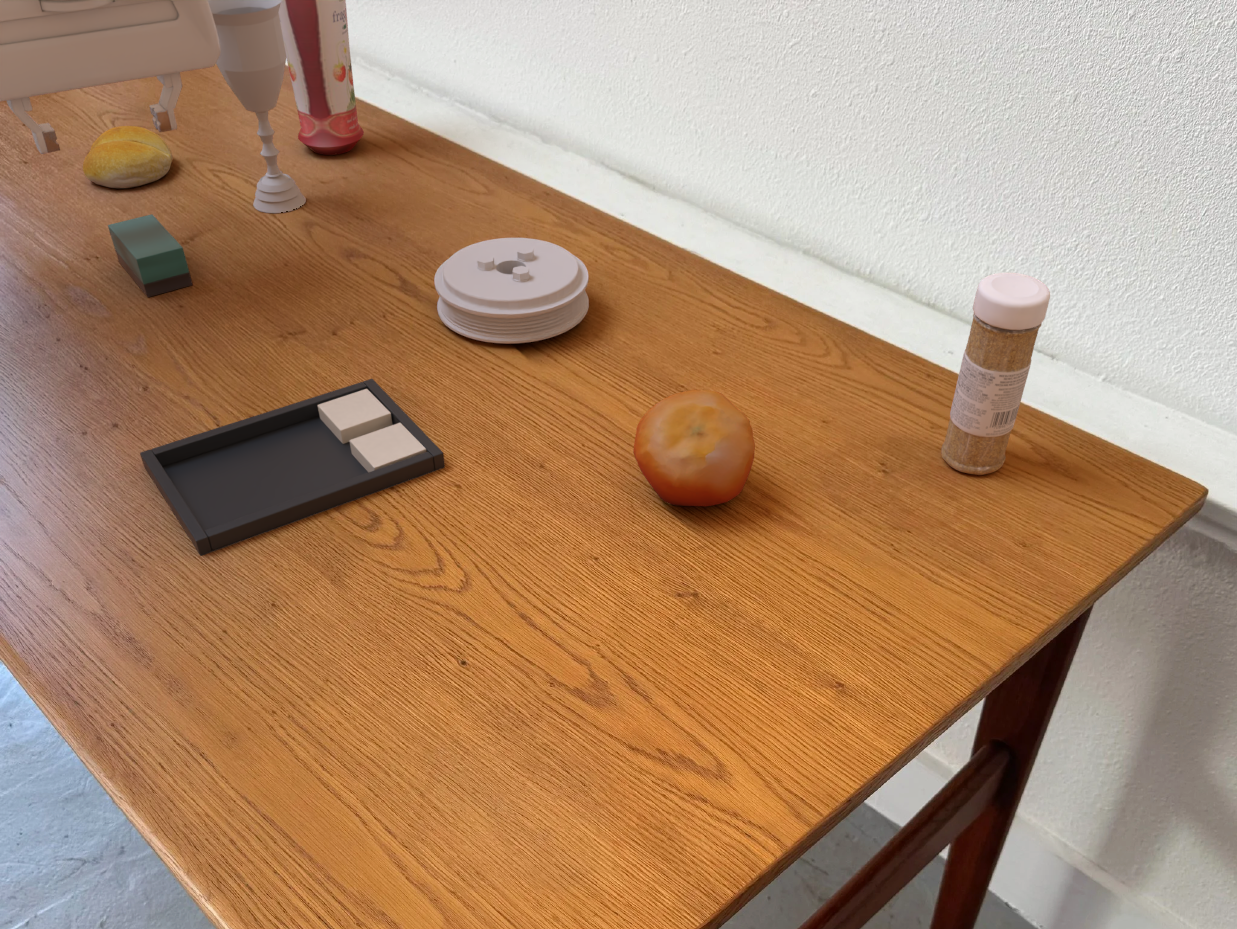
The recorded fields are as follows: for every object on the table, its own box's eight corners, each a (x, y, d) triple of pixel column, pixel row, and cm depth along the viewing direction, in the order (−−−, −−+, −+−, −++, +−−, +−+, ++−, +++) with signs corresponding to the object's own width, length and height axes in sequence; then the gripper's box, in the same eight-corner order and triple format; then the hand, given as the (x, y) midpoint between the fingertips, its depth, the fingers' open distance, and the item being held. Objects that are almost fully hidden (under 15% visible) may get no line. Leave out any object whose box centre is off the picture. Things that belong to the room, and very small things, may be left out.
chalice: (299, 181, 119) (263, -14, 107) (329, 204, 115) (295, 4, 103) (230, 199, 116) (185, 0, 104) (258, 223, 112) (215, 19, 100)
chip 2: (376, 481, 81) (374, 467, 80) (351, 454, 84) (348, 439, 83) (428, 462, 83) (426, 448, 82) (402, 436, 85) (400, 422, 85)
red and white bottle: (360, 161, 123) (314, -156, 104) (291, 160, 123) (231, -157, 104) (373, 134, 128) (331, -172, 109) (306, 133, 128) (252, -173, 109)
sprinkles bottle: (986, 437, 86) (1031, 266, 77) (1015, 473, 83) (1065, 299, 74) (928, 445, 86) (966, 273, 77) (955, 481, 82) (998, 306, 73)
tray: (202, 561, 76) (195, 540, 75) (145, 472, 83) (139, 452, 82) (445, 472, 83) (443, 452, 82) (375, 397, 90) (372, 378, 89)
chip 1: (342, 444, 85) (340, 430, 84) (319, 418, 87) (317, 404, 86) (393, 426, 86) (391, 412, 85) (369, 401, 89) (366, 388, 88)
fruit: (747, 426, 85) (758, 373, 77) (747, 529, 83) (758, 486, 75) (635, 423, 85) (635, 370, 77) (632, 526, 83) (631, 482, 75)
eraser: (193, 285, 103) (183, 247, 101) (147, 297, 101) (136, 259, 99) (162, 250, 108) (152, 213, 105) (118, 262, 106) (107, 224, 104)
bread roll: (80, 193, 117) (67, 152, 114) (101, 157, 123) (89, 118, 121) (165, 190, 117) (154, 150, 115) (182, 154, 124) (172, 115, 121)
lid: (531, 370, 93) (527, 312, 90) (407, 326, 98) (400, 270, 95) (617, 304, 101) (617, 249, 97) (499, 266, 106) (495, 213, 102)
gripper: (-86, -21, 81) (-18, 178, 90) (207, -56, 89) (241, 130, 99) (-103, -44, 84) (-36, 150, 94) (180, -75, 93) (215, 105, 102)
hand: (108, 139), depth 96 cm, fingers open, 8 cm apart
